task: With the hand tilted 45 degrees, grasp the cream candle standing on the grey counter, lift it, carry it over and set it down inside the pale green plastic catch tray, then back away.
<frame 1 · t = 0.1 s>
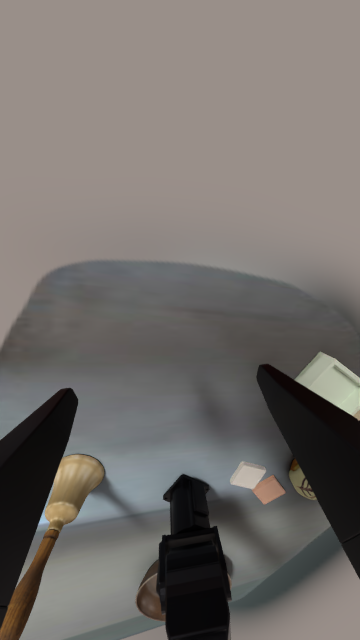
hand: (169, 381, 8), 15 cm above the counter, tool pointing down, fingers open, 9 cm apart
tray: (318, 391, 29), on the counter
decorated donut: (309, 460, 33), on the counter
hand bell: (80, 470, 29), on the counter
plant saucer: (183, 568, 39), on the counter
tile terracotta: (266, 484, 34), on the counter
tile white: (245, 470, 33), on the counter
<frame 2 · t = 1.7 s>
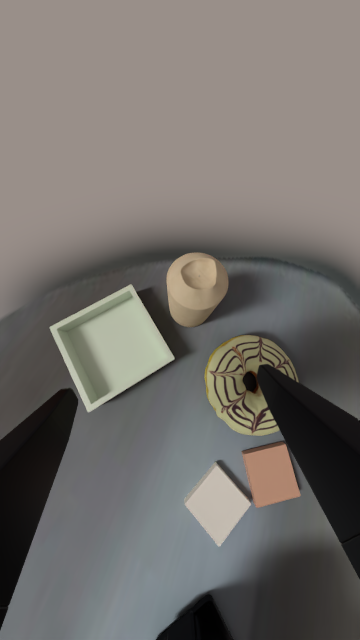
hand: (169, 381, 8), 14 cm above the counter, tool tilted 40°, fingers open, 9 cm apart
tray: (118, 344, 22), on the counter
decorated donut: (243, 380, 22), on the counter
tile terracotta: (266, 468, 20), on the counter
tile white: (215, 495, 19), on the counter
candle: (189, 308, 23), on the counter
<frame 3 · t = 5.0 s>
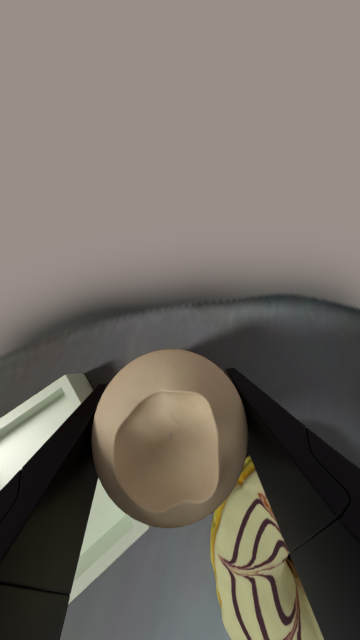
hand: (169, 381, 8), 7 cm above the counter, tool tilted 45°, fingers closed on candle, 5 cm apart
tray: (52, 479, 12), on the counter
decorated donut: (277, 521, 12), on the counter
candle: (173, 392, 14), on the counter, touching gripper
when the fingers open (8 cm above the counter, at t = 8.2 s): candle drops 1 cm, resting on tray.
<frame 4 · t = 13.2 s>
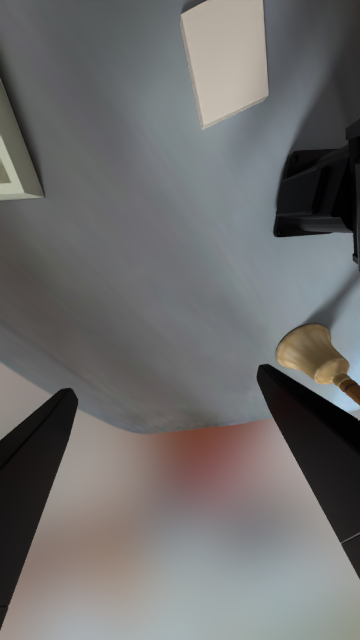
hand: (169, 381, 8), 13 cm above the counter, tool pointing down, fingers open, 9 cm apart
hand bell: (300, 345, 26), on the counter
tile white: (223, 72, 12), on the counter
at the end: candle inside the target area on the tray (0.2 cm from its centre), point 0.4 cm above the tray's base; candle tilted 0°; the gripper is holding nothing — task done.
